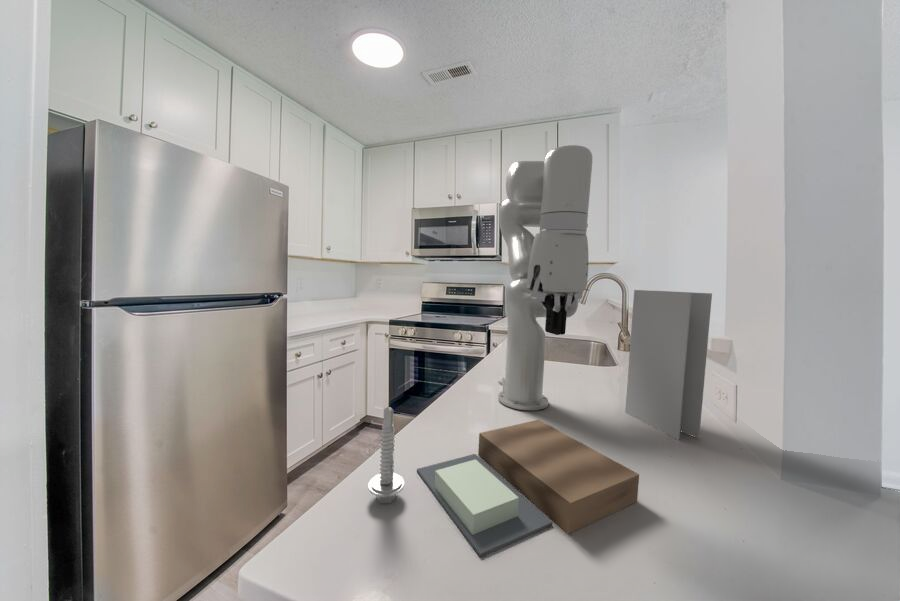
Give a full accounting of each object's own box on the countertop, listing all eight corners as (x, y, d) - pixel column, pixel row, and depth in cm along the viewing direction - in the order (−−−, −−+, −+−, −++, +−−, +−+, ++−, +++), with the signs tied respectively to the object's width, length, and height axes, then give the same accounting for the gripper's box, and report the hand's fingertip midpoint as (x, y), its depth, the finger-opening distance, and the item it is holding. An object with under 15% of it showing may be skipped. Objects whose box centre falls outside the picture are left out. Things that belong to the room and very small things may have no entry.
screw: (402, 509, 43) (365, 510, 43) (404, 486, 48) (371, 487, 48) (405, 413, 43) (367, 413, 42) (407, 400, 47) (373, 399, 47)
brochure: (699, 438, 68) (712, 293, 66) (678, 440, 67) (690, 292, 65) (643, 410, 82) (653, 290, 80) (625, 412, 80) (634, 289, 78)
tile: (475, 459, 51) (474, 474, 51) (435, 470, 48) (434, 487, 48) (518, 497, 42) (517, 516, 42) (473, 514, 39) (472, 534, 39)
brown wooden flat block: (478, 455, 58) (479, 433, 57) (537, 439, 64) (538, 419, 64) (568, 534, 40) (570, 503, 40) (637, 501, 47) (639, 474, 47)
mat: (416, 471, 52) (416, 468, 52) (474, 456, 57) (475, 453, 57) (479, 557, 36) (480, 553, 36) (552, 525, 42) (552, 522, 42)
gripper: (576, 231, 62) (569, 326, 64) (513, 224, 55) (507, 331, 57) (612, 228, 55) (602, 334, 58) (545, 220, 49) (536, 341, 51)
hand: (554, 332), depth 57 cm, fingers closed
